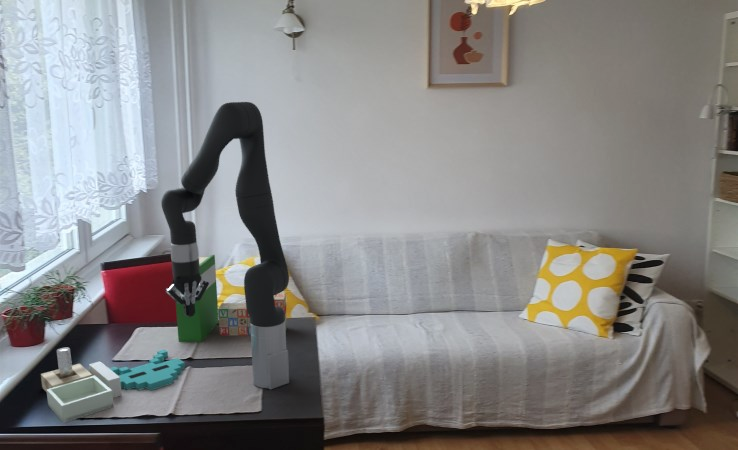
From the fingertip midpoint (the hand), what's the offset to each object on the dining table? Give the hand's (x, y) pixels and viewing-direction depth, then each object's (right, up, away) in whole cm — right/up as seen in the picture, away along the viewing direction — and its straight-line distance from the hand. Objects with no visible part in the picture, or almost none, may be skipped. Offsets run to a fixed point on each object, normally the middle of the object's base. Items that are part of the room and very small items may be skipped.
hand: (189, 316), depth 188 cm
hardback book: (-4, -9, +27) cm, 29 cm away
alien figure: (-11, -16, -5) cm, 20 cm away
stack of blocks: (+14, -9, +26) cm, 31 cm away
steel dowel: (-29, -17, -13) cm, 36 cm away
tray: (-21, -19, -24) cm, 37 cm away
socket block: (-29, -17, -13) cm, 36 cm away
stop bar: (-19, -17, -14) cm, 29 cm away
